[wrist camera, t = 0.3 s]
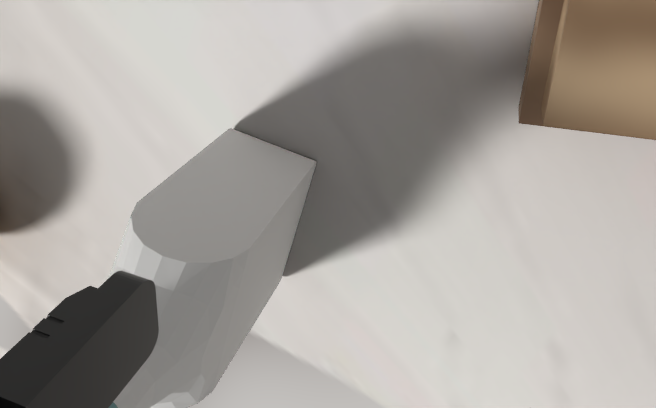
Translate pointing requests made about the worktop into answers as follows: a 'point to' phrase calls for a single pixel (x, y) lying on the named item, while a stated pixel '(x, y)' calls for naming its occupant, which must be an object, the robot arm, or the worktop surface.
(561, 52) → the tower base
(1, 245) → the worktop surface
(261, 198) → the soap bottle
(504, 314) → the worktop surface
